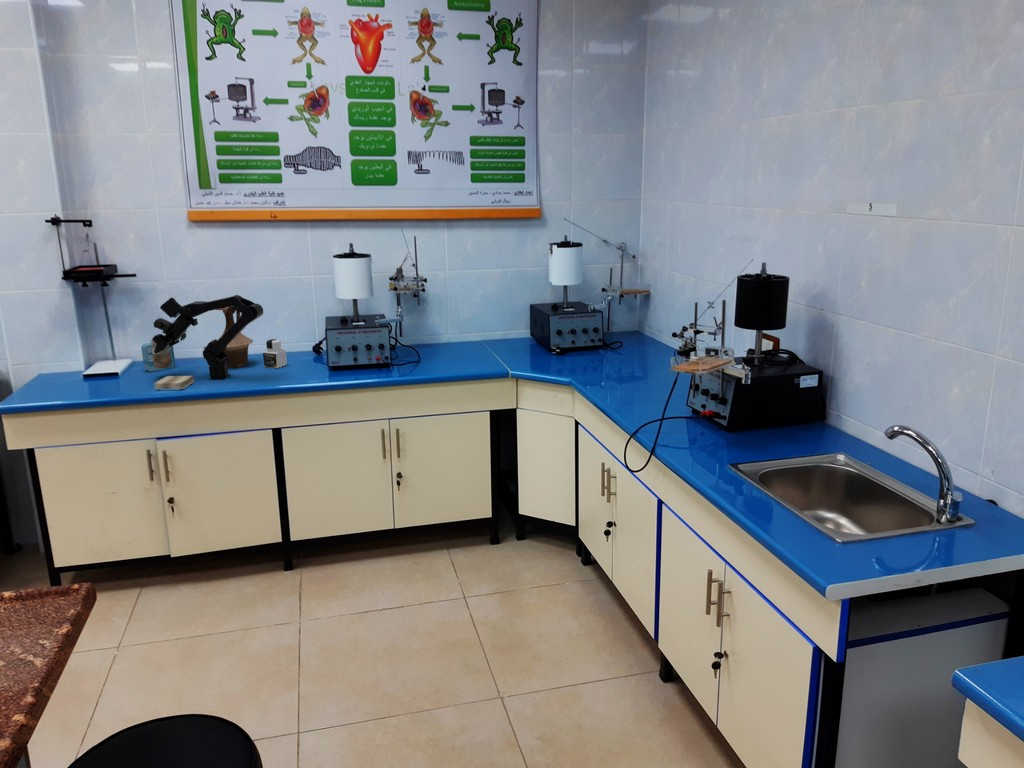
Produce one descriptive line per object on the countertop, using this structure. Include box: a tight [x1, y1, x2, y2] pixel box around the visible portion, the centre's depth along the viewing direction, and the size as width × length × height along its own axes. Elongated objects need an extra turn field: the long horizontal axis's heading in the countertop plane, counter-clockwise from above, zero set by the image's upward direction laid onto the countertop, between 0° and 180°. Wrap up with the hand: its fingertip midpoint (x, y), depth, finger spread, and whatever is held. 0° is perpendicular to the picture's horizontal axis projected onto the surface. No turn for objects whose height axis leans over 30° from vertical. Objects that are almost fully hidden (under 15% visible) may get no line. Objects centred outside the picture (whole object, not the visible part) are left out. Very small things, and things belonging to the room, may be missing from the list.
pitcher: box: [216, 306, 254, 369], centre depth 340 cm, size 18×17×28 cm
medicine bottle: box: [262, 338, 288, 369], centre depth 339 cm, size 7×7×12 cm
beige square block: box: [153, 375, 195, 391], centre depth 310 cm, size 11×11×3 cm
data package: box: [140, 342, 176, 373], centre depth 336 cm, size 12×4×12 cm, turn 135°
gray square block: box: [150, 339, 172, 368], centre depth 322 cm, size 5×5×12 cm
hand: (158, 351), depth 322 cm, fingers closed on gray square block, 5 cm apart
